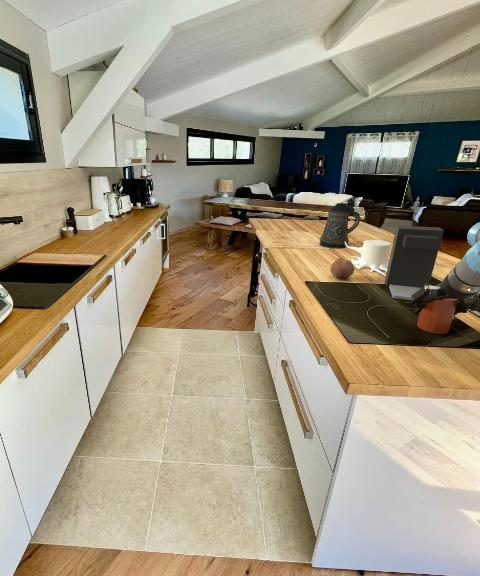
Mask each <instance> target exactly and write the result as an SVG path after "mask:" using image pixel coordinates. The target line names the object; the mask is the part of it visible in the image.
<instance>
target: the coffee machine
mask: <svg viewBox="0 0 480 576" xmlns="http://www.w3.org/2000/svg"><path fill="white" fill-rule="evenodd" d="M444 232H445V230H444V229H443V228H441V227H438V226H436V227H435V226H415V225H414V226H413V225H396V227H395V232H394V237H393V240H392V244H391V250H390V253H389V254H390V255H389V258H388V259H389V260H388V261H389V262H388V263H389V264H388V268H387V272H385V274H386V276H385V277H384V278H385V279H384V284H385V285H384V286H385V287H386V288H388V289H389V291H390V294H391V296H392V299H396V300H405V301H411V295H413V294H414V293H415V292H417V291H418V290H420V289H421V288H422V287H424V284H425V283H429V284H431V279H432V275H433V272H434V270H435V269H434V268H435V264H436V262H437V257H438V254H439V250H440V247H441V243H442V239H443V237H444V236H443V235H444Z"/></svg>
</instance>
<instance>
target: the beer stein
mask: <svg viewBox="0 0 480 576" xmlns="http://www.w3.org/2000/svg"><path fill="white" fill-rule="evenodd" d="M327 215H328V216H327V219H326V223H325V226H324V229H323V231H322V234H321V236H320V237H319V246H321V247H323V248H327V249H328V248H329V249H346V248H347V247H346V245H345V241H346V243H347V245H348V246H349V243H350V239H349V234H350V233H352V232H353V231H354V230H355V229H356V228H357V227H358V226H359V224H360V222H361V215H360V214H359V212H357V211H356V209H355V207H354V206H350V205H347V203H343V202H338V203H336V204H334V206H332V207H331V208H329V209H328V210H327ZM349 217H353V218H354V219H355V221H354V223H353V225H351V226H350V227H349Z"/></svg>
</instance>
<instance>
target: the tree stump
mask: <svg viewBox="0 0 480 576" xmlns="http://www.w3.org/2000/svg"><path fill="white" fill-rule="evenodd" d="M345 245H346V247H345V248H347V249H349V250H353V251H354V252H357V253H358V254H360V256H354V255H351V256H350V257H351V258H350V259H348V260H349V261H351V262H352V264H353V266H354V269H357V270H361V269H365V268H369V269H370V270H369V272H370V273H373V272H377V273H378V274H380V275H383V276H385V277H386V273H387V268H388V264H389V260H388V259H389V256H390V255H389V254H390V251H391V250H390V249H391V246H392V243H391V242H389V241H386V240H382V239H380V240H379V239H366V240H364V241H363V245H362V246H361V247H356V246H349V244H348V245H347V243H346V241H345ZM384 272H385V273H384Z"/></svg>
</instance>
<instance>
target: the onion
mask: <svg viewBox="0 0 480 576" xmlns="http://www.w3.org/2000/svg"><path fill="white" fill-rule="evenodd" d="M349 260H350V259H345V258H343V257H338V258H336V259H335V260H334V261H333V262H332V264H331V265H330V268H329V269H330V273H331V275H332V276H333V277H334V278H336V279H338V280H343V281H344V280H346V279H349V278H350V277H351V276H353V274H354V272H355V268H354V265H353V264H352V262H351V261H349Z"/></svg>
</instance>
